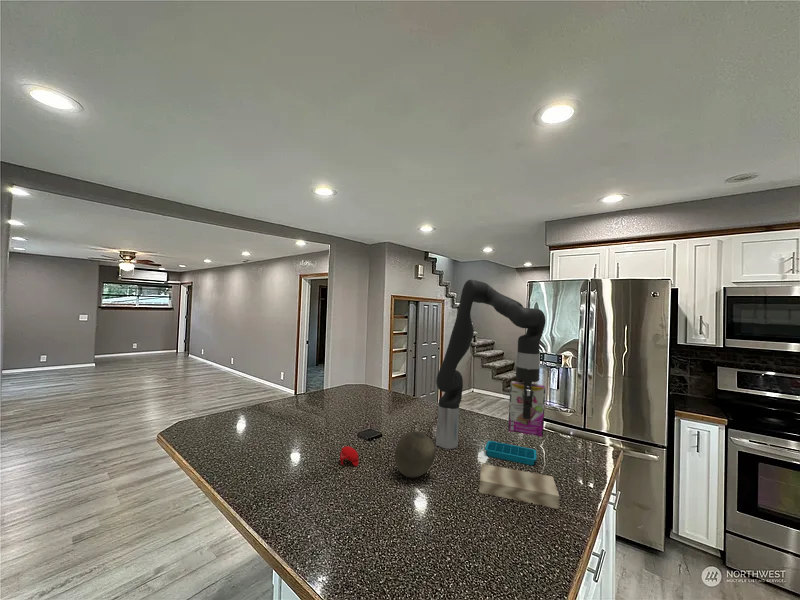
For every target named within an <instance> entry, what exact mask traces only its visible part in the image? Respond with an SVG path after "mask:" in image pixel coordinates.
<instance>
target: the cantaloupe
mask: <svg viewBox="0 0 800 600" xmlns="http://www.w3.org/2000/svg"><path fill="white" fill-rule="evenodd" d="M436 453H437V452H436V446H435V444H434V442H433V440H432V439H431V438H430V437H429V436H428V435H427V434H425V433H423V432H421V431H416V430H415V431H409V432H407V433H405V434H404V435H403V436H402V437H401V438H400V439H399V440H398V442H397V445H396V447H395V450H394V461H395V465H396V468H397V470H398V471H399V472H400V473H401V474H402V475H403V476H405V477H407V478H413V479H414V478H418V477H421V476H423V475H424V474H425V473H427V472H428V471H429V470H430V469H431V468H432V465H433V464H434V461H435V458H436Z"/></svg>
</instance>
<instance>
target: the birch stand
mask: <svg viewBox="0 0 800 600" xmlns="http://www.w3.org/2000/svg"><path fill="white" fill-rule="evenodd" d="M480 468H481V469H480V475H479V485H478V486H479V489H478V491H479V492H478V493H479V494H483V495H488V494H489V495H488V496H493V495H494V497H499V498H503V499H509V500H512V499H513V501H517V502H522V501H523V502H522V503H527V502H528V503H527V504H531V503H533V505H536V504H537V505H538V506H541V505H542V507H545V508H552V509H556V510H560V494H559V491H558V488H557V485H556V483H555V480H554V477H553V476H551V475H544V474H540V473H535V472H529V471H523V470H519V469H512V468H509V467H508V468H507V467H503V466H502V467H501V466H496V465H491V464H486V463H485V464H484V463H481V465H480ZM537 505H536V506H537Z"/></svg>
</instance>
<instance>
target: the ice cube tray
mask: <svg viewBox="0 0 800 600" xmlns="http://www.w3.org/2000/svg"><path fill="white" fill-rule="evenodd" d="M484 450H485V451H486V456H487V457H490V458H495V459H501V460H505V461H509V462H515V463H519V464H524V465H528V466H534V465H535V461H537V450H536V449H533V448H530V447H525V446H518V445H515V444H509V443H504V442H499V441H494V440H488V441H487V442H486V444H485V447H484Z"/></svg>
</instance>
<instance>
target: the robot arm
mask: <svg viewBox="0 0 800 600" xmlns="http://www.w3.org/2000/svg"><path fill="white" fill-rule="evenodd" d="M473 303H476V304H486V305H489V306H491V307H493V309H494V310H495V311H496V312H497V313H498V314H500V315H501V316H503V317H505V318H507V319H509V321H510V322H511V323H512V324H513V325H515V326H516V327H518V328H522V329H527V330H526V332H525V334H523V335H520V336H519V337H518V340H517V352H516V353H517V354H516V358H515V359H516V361H515V379H516V380H517V381H520V382H523V383H524V392H522V400H523V418H524V419H530V411H531V408H532V400H533V390H531V389H532V384H533V383H538V382H539V381H540V370H541V369H540V368H541V367H540V364H541V359H540V349H541V348H540V347H541V346H540V345H541V344H540V343H541V339H542V336H543V334H544V330H545V326H546V322H547V321H546V316H545V312H544V311H543V310H541V309H539V308H532V307H531V308H530V307H524V306H523V303H521V302H519V301H517V300H515V299H513V298H511V297H509V296H506V295H504V294H502V293H500V292H499V291H497V290H495V289H494V288H493V287H492V286H490V285H489V284H488V283H486V282H484V281H481V280H476V279H468V280H466V281H465V283H464V285H463V287H462V289H461V295H460V299H459V306H458V310H457V314H456V318H455V322H454V325H453V328H452V331H451V333H450V334H451V335H450V337H449V341H448V346H447V348H446V351H445V355H444V358H443V361H442V363H441V365H440V368H439V370H438V373H437V376H436V386H437V389H438V390H439V391H440V392H443V393H444V394H443V395H442V396H441V397H440V398H439V400H438V410H437V411H438V413H437V415H438V416H437V423H436V431H435V434H436V436H435V446H436V447H437V446H438V447H440V448H443V449H446V450H449V449H450V450H451V449H453V450H454V449H456V448H458V442H459V441H458V439H459V438H458V437H459V422H460V421H459V419H460V403H461V402H462V398H463V397H462V396H463V387H464V379H463V376H462V374H461V372H460V371H459V370H457V368H458V365H459V363H460V362H461V360H462V359H463V357H464V356H465V355H466V354H467V353H468V350H469V349H470V347H471V344H472V341H473V337H474V325H473V322H472V316H471V311H472V306H473ZM531 383H532V384H531ZM526 400H527V401H530V402H529V403H526Z"/></svg>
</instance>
